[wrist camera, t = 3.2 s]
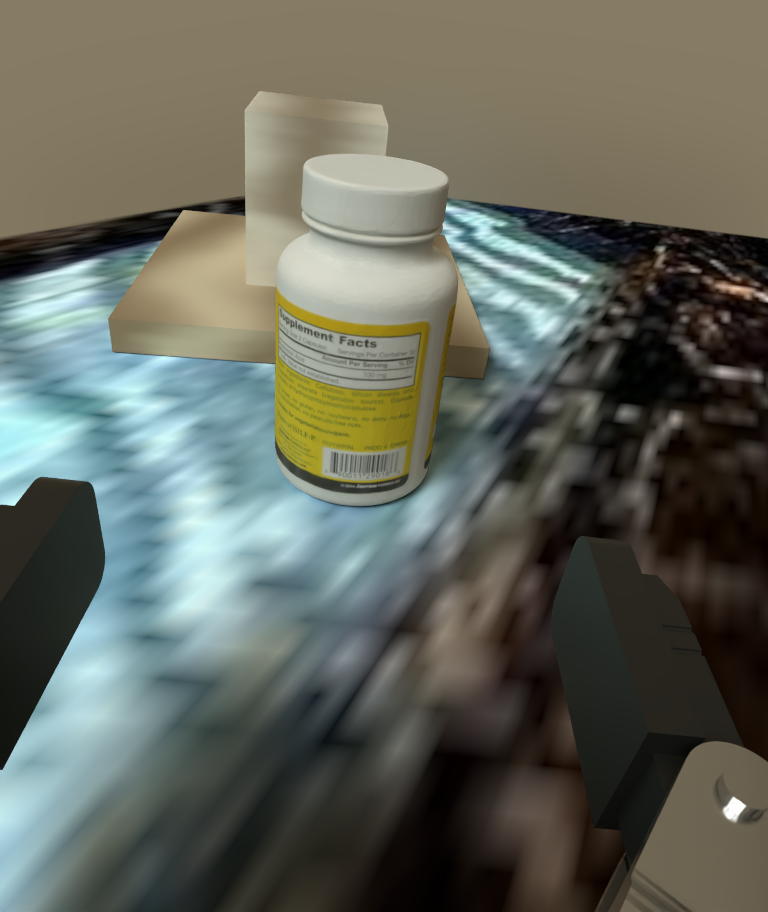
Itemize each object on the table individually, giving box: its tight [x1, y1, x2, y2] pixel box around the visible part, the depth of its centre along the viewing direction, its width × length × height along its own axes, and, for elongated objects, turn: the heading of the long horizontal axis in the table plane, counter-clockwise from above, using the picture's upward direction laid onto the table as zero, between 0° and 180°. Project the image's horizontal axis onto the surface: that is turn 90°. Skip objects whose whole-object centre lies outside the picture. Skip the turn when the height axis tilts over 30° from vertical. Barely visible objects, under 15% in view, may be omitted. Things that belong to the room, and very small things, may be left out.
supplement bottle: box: [275, 154, 458, 506], centre depth 21 cm, size 5×5×10 cm
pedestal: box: [108, 91, 490, 379], centre depth 33 cm, size 16×16×9 cm
